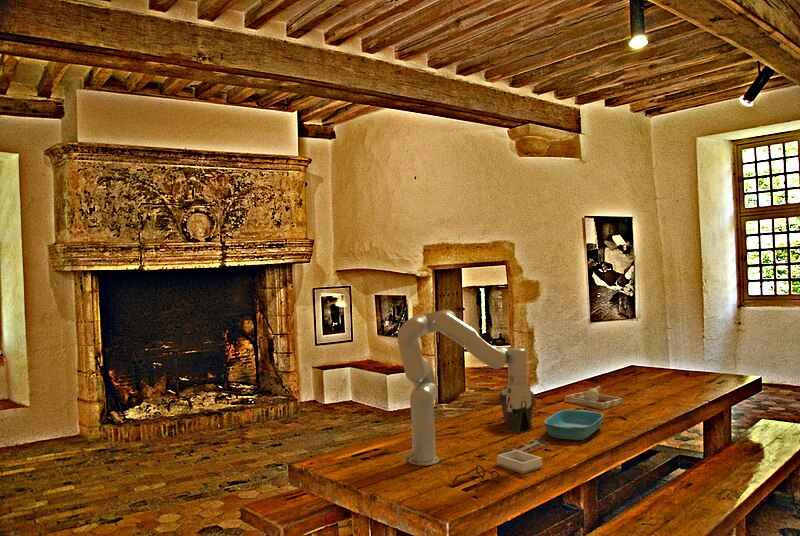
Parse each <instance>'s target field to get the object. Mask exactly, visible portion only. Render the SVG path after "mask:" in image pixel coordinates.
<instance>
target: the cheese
mask: <svg viewBox="0 0 800 536" xmlns="http://www.w3.org/2000/svg"><path fill="white" fill-rule="evenodd" d="M601 390H602V387H601V386H600V385H597V386H596V387H591V388H589V389H588V390H587V392H586V393H585V394H584V395H583V396H582V397H580V398H579V399H584V400H589V401H594V402H598V401H600V400H599V398H598V394H600V391H601Z"/></svg>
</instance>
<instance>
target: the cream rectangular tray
mask: <svg viewBox="0 0 800 536" xmlns="http://www.w3.org/2000/svg"><path fill="white" fill-rule="evenodd" d="M496 462H497V464H496V465H497V466H499V467H501V468H505V469H508V470H510V471H513V472H517V473H519V474H522V475H523V474H526V473H530V472H533V471H536V470H540V469H542V468H543V457H541V456H537V455H534V454H531V453H529V452H526V453H525V452H522V451H518V450H517V449H516V450H514V451H511V452H507V453H503V452H502V453H500V454H497V455H496Z"/></svg>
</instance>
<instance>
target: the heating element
mask: <svg viewBox="0 0 800 536" xmlns="http://www.w3.org/2000/svg"><path fill="white" fill-rule="evenodd" d="M548 443H549V442H548V441H545V440H543V439H540V438H537V437H536V438H534V439H532V440H531V441H530V442H529V443H528V444H526V443H525V444H524V443H521V445H520V446H519V447H517V448H513V447H511V448H510V450H509V449H507V448H504V447H502V454H503V453H507V452H511V451H514V450H518V451H522V452H525V453H532V452H533V450H534V449H537V448H538V447H543V446H547V445H548Z"/></svg>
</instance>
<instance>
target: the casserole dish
mask: <svg viewBox="0 0 800 536" xmlns="http://www.w3.org/2000/svg"><path fill="white" fill-rule="evenodd" d="M603 418H604V414H603V413H601V412H597V411H593V410H585V409H563V410H558V411H557V412H555V413H554V414H552V415H550V416H549V417H547V418H546V419H545V420H544V421H543V422H544V423H543V424H544V426H545V429H546V431H547V434H548V435H549V436H551V437H552V438H556V439H563V440H564V439H566V440H574V441H583V440H585V439H587V438H589V437H590V436H591V435H593V434H594V433H595V432H596V431H597V430H599V429H600V427H601V424H602V421H603Z"/></svg>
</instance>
